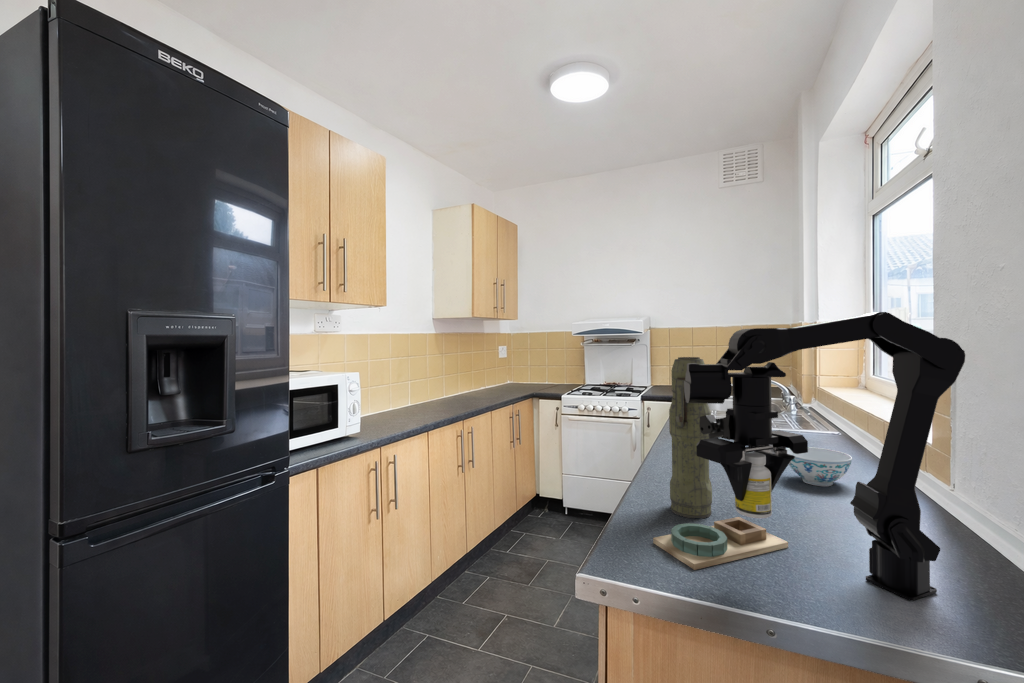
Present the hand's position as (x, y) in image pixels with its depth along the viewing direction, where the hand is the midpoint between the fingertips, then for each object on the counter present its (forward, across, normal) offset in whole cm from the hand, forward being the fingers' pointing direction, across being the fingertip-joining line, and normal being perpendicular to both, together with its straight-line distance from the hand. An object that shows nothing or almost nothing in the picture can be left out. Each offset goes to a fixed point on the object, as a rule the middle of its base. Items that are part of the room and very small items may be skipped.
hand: (753, 497), depth 75 cm
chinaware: (+13, -55, -29) cm, 64 cm away
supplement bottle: (+3, 0, 0) cm, 3 cm away
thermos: (+13, -10, -26) cm, 31 cm away
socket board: (+13, -3, -10) cm, 17 cm away
